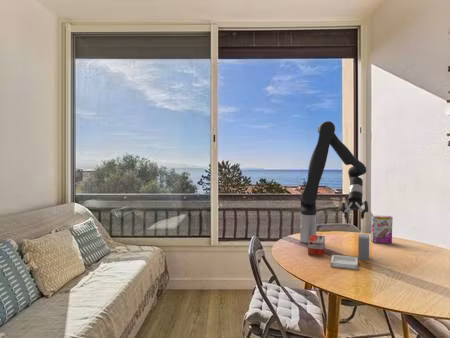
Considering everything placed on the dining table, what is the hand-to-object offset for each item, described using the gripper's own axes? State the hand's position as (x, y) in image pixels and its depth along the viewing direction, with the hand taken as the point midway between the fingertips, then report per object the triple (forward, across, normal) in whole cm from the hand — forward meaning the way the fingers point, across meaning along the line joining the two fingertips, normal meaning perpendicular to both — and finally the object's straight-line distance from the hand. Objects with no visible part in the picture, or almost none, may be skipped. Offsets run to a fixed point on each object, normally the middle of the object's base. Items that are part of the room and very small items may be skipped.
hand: (354, 218), depth 184 cm
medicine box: (+21, -18, -2) cm, 28 cm away
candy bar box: (-2, +5, +35) cm, 35 cm away
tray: (+30, 0, -11) cm, 32 cm away
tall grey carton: (+22, +5, +3) cm, 22 cm away
